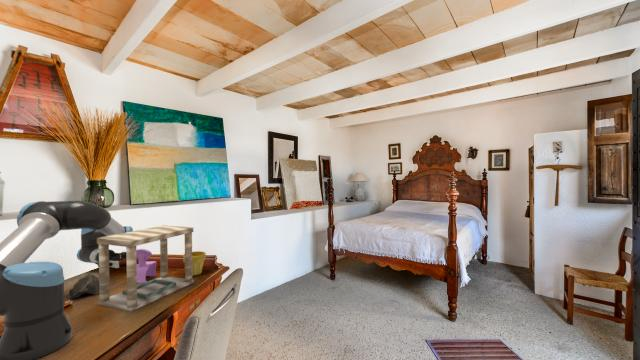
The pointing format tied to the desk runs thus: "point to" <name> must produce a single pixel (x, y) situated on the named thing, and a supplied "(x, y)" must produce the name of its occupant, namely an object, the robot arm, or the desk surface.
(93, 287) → the fossil
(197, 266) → the plant pot
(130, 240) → the canopy shelf
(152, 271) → the toy chair
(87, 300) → the desk surface
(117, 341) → the desk surface
